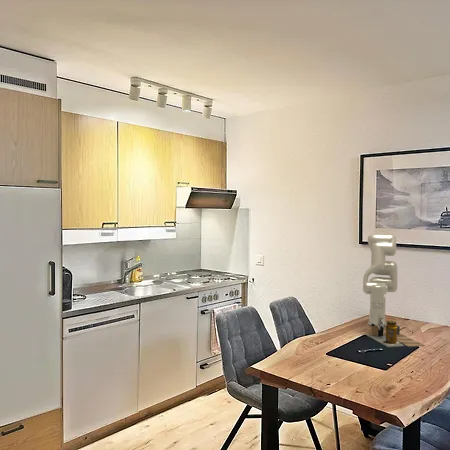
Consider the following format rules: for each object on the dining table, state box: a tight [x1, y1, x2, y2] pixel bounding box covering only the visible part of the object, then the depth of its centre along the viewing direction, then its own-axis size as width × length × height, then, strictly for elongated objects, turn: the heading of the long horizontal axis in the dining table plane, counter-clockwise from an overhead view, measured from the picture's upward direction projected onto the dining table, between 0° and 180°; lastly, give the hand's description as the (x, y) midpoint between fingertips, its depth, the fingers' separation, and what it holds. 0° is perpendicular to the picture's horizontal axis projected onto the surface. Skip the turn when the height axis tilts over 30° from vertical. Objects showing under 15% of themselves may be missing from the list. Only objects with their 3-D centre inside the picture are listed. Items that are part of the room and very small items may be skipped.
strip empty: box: [384, 324, 425, 348], centre depth 259 cm, size 24×10×6 cm, turn 11°
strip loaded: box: [365, 325, 405, 348], centre depth 258 cm, size 24×10×6 cm, turn 11°
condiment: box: [380, 320, 400, 345], centre depth 252 cm, size 7×8×12 cm
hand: (376, 334), depth 266 cm, fingers open, 7 cm apart
